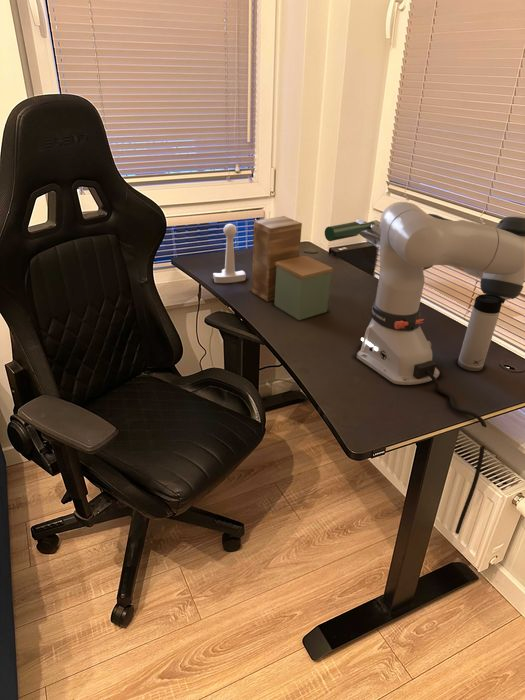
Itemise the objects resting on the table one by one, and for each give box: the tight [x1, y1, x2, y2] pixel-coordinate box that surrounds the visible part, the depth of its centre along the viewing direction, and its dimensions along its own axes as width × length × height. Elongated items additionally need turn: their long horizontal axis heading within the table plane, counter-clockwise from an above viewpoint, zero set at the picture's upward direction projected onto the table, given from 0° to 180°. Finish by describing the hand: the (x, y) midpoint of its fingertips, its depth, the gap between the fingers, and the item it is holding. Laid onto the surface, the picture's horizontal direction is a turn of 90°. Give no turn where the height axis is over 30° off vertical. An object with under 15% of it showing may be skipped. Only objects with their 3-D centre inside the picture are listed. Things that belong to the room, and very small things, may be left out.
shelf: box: [251, 215, 303, 302], centre depth 163 cm, size 9×12×24 cm
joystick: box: [212, 223, 247, 284], centre depth 174 cm, size 11×8×20 cm
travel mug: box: [457, 293, 506, 372], centre depth 128 cm, size 6×7×20 cm
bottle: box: [324, 219, 380, 242], centre depth 158 cm, size 20×4×4 cm, turn 125°
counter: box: [273, 255, 334, 321], centre depth 156 cm, size 13×12×14 cm
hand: (367, 225), depth 161 cm, fingers closed on bottle, 2 cm apart
